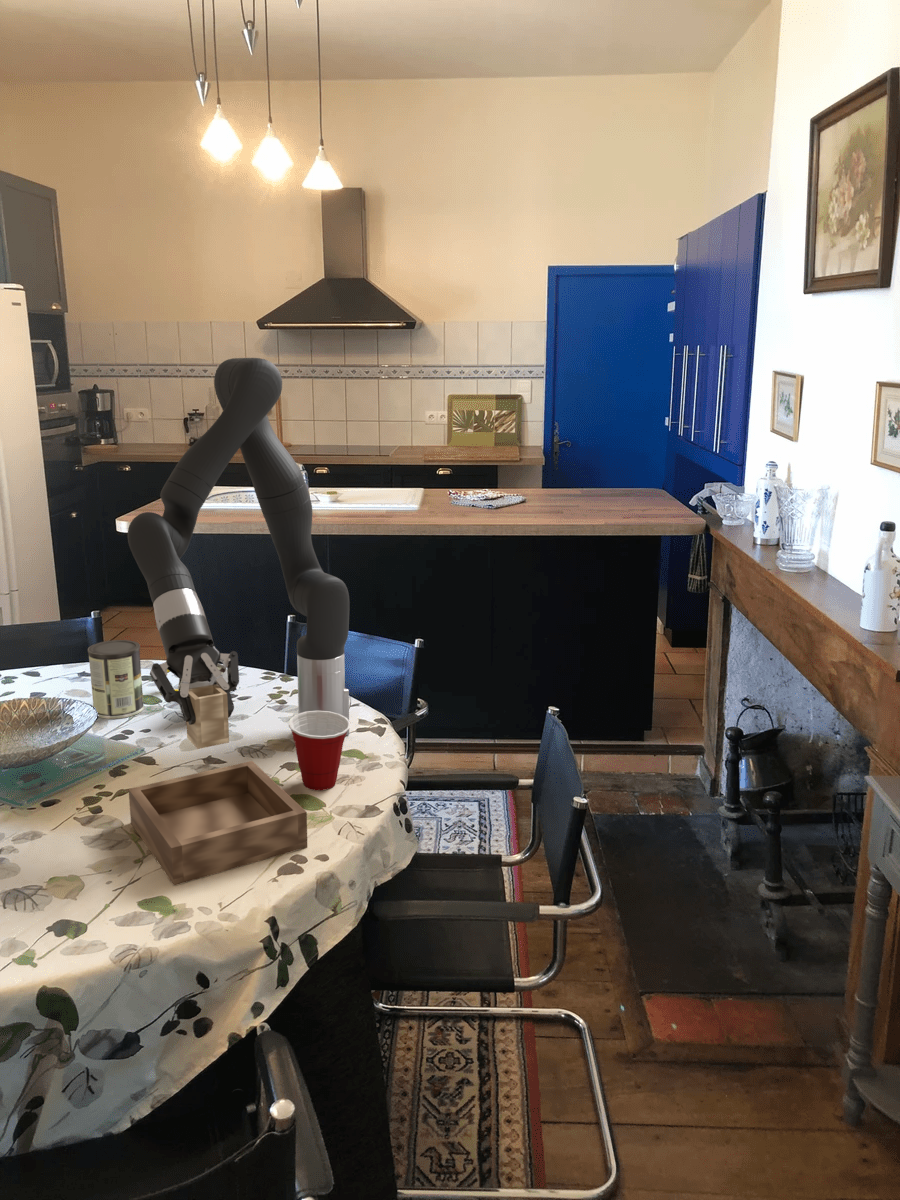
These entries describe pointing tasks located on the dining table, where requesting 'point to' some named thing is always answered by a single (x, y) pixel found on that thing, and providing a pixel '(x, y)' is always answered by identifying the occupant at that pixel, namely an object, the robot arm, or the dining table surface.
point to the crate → (216, 821)
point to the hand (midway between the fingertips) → (211, 718)
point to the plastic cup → (319, 746)
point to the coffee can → (116, 678)
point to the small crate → (208, 716)
